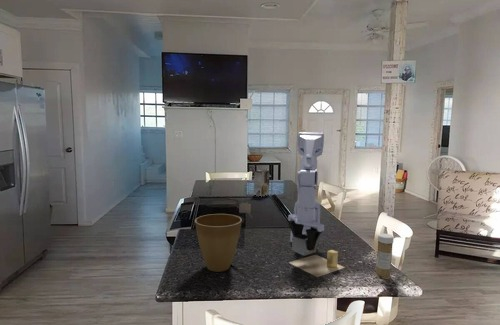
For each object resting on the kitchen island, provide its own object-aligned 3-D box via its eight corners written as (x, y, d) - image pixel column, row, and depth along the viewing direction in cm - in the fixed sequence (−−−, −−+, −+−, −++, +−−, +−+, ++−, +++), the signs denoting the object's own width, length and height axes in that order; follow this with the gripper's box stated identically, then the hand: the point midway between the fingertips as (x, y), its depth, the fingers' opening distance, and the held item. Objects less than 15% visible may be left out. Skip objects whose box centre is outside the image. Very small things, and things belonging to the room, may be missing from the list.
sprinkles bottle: (378, 272, 113) (381, 231, 112) (392, 276, 110) (396, 235, 109) (372, 276, 110) (375, 235, 108) (387, 281, 107) (390, 238, 105)
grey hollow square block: (291, 250, 116) (292, 235, 115) (304, 246, 119) (304, 232, 119) (303, 255, 111) (304, 240, 111) (316, 252, 115) (316, 237, 114)
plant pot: (237, 257, 122) (239, 213, 120) (243, 276, 108) (244, 225, 106) (194, 258, 120) (195, 213, 118) (194, 278, 105) (194, 226, 104)
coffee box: (261, 193, 232) (261, 169, 230) (269, 194, 228) (270, 170, 226) (253, 195, 224) (253, 170, 223) (261, 197, 221) (262, 171, 219)
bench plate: (288, 265, 117) (288, 262, 117) (315, 257, 124) (315, 254, 124) (317, 280, 106) (317, 277, 106) (345, 270, 114) (345, 267, 114)
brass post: (326, 268, 115) (327, 251, 114) (331, 267, 116) (332, 249, 115) (332, 271, 113) (333, 253, 112) (337, 269, 114) (338, 252, 114)
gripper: (282, 203, 117) (280, 242, 119) (313, 213, 105) (311, 256, 107) (297, 200, 121) (295, 238, 123) (329, 210, 109) (327, 251, 111)
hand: (304, 246), depth 115 cm, fingers closed on grey hollow square block, 6 cm apart
